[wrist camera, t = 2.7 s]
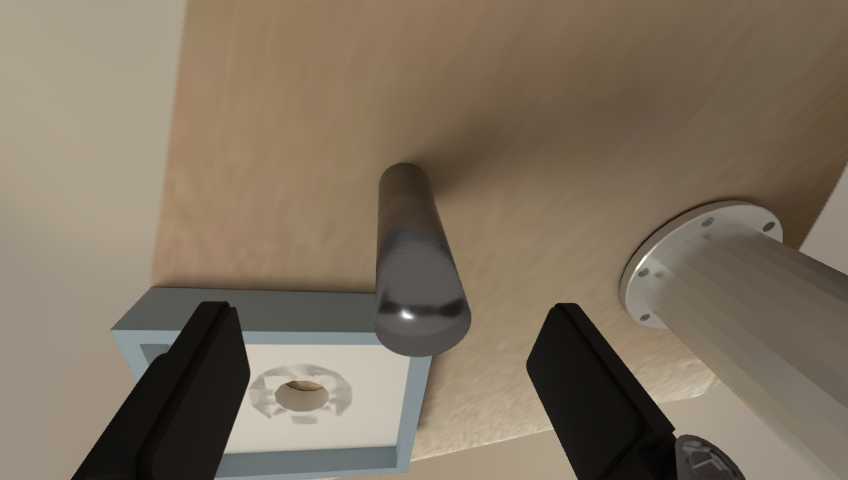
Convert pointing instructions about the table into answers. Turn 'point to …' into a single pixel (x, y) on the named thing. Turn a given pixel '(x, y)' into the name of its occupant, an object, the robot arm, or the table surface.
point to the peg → (415, 270)
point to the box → (292, 361)
